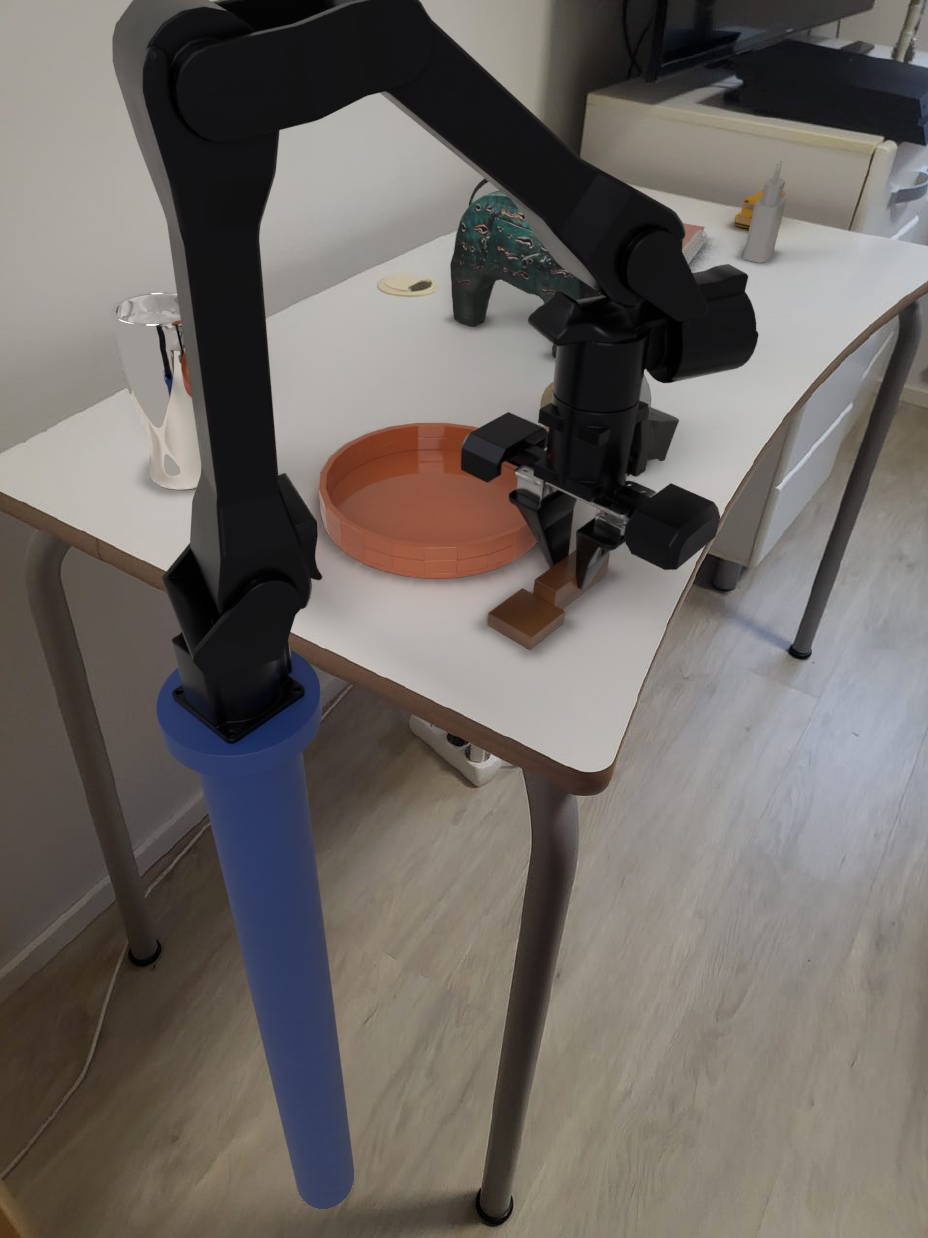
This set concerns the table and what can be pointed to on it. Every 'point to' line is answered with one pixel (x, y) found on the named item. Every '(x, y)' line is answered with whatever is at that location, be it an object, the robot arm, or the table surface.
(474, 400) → the table surface
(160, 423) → the beer glass
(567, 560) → the stepped brown block
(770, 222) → the grey nozzle bottle
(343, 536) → the bowl
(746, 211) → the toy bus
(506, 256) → the ceramic cat
